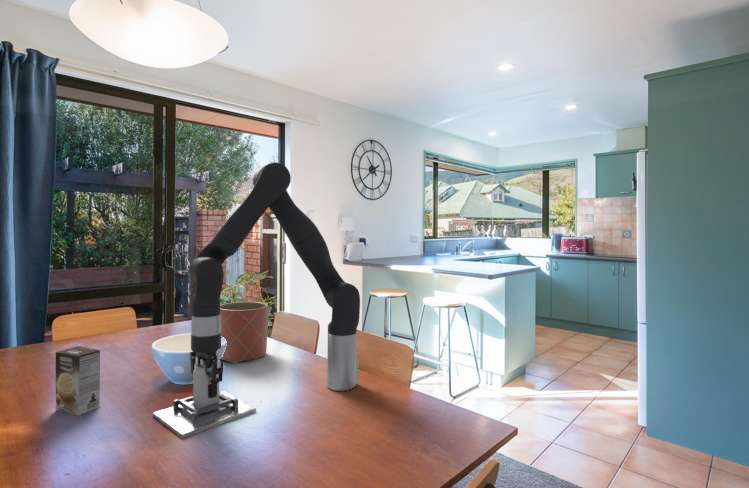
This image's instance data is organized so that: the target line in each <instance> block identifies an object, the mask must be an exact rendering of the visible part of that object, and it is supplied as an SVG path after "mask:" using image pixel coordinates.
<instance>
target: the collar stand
mask: <svg viewBox="0 0 749 488" xmlns="http://www.w3.org/2000/svg"><path fill="white" fill-rule="evenodd" d="M214 409H215V410H214ZM211 410H214V411H211ZM208 411H211V412H208ZM205 412H208V413H205ZM256 412H257V407H256V406H254V405H252V404H250V403H248V402H246V401H244V400H242V399H241V398H239V397H237V396H234V395H233V394H231V393H228V392H227V391H225V390H223V391H221V392H220V391H219V402H218V403H215V404H212V405H209V406H206V407H203V408H200V409H197V408H196V407H194V406H193V395H191V396H187V397H185V398H182V399H178V398H176V399H172V406H170V407H168V408H165V409H160V410H157V411H154V412H153V417H154V418H155V419H156V420H158V421H159V422H160V423H161V424H163V425H164V426H165V427H167V428H168V429H169V430H170V431H172V432H173V433H174V434H175V435H177V436H178V437H180V438H181V439H184V438H188V437H190V436H193V435H195V434H198V433H200V432H201V433H202V432H203V431H207V430H209V429H211V428H214V427H218V426H220V425H223V424H225V423H228V422H230V421H234V420H236V419H239V418H240V419H241V418H242V417H245V416H248V415H250V414H254V413H256Z"/></svg>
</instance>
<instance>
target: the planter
mask: <svg viewBox="0 0 749 488" xmlns="http://www.w3.org/2000/svg"><path fill="white" fill-rule="evenodd" d="M220 317H221V336H222V337H224V338H225V339H226V341H227V346H226V349H225V352H224V354H223V357H222V359H223V361H226V362H229V363H233V364H239V363H240V362H241V361H249V360H250V361H251V360H254V359H258V358H261V357H262V358H265V357H266V355H267V347H268V346H267V345H268V327H269V304H268V303H267V302H263V301H262V302H259V301H236V302H235V301H234V302H233V301H232V302H225V303H222V304H221V303H220ZM222 337H221V338H222Z"/></svg>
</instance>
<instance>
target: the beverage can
mask: <svg viewBox="0 0 749 488" xmlns="http://www.w3.org/2000/svg"><path fill="white" fill-rule="evenodd" d="M194 366H195V369H194V371H193V374H192V375H193V376H192V380H193V381H192V385H193V386H192V389H193V390H192V391H193V395H192V396H193V406H194V407H196V408H197V409H200V408H203V407H206V406H209V405H212V404H215V403H218V402H219V392H220V382H218V383H217V396H216V397H213V398H209V397H208V381H207V376H206V375H205V371H204V369H203V367H202V365H194ZM207 370H208V372H210V371H212V367H211V368H207ZM210 376H212V374H211V375H210ZM218 377H219V374H218ZM214 410H215V409H214ZM214 410H211V411H214ZM211 411H208V412H211ZM208 412H205V413H208Z"/></svg>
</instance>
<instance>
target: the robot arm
mask: <svg viewBox="0 0 749 488" xmlns="http://www.w3.org/2000/svg"><path fill="white" fill-rule="evenodd" d="M291 176H292V175H291V173H290V171H289V169H288V167H286V165H284V164H283V163H280V162H268V163H266V164H264V165H263V166H261V167H260V168H258V169H256V171H255V172H254V173H253V177H252V184H253V187H252V189H251V191H250V193H249V194H248V195H247V196H246V198H245V199H244V200H243V202H242V203H241V204H240V205H239V206H238V207H237V208H236V209H235V210H234V211H233V213H232V214H230V216H229V217H228V218H227V219H226V220H225V222H223V224H222V225H221V226H220V228H219V229H218V231H216V234H214V236H213V238H212V239H211V240H210V241H209V243H208V244H206V245H205V246H204V247H203V248H202V249H201V251H200V252H198V254H197V255H196V256H195V257H194V258H193V259H192V261H191V263H190V265H189V268H188V269H189V270H188V271H189V272H188V273H189V275H190V277H191V278H192V279H193V280H194V281H195V294H193V296H192V299H191V321H190V350H191V351H190V352H189V355H190V356H189V359H190V373H191V374H192V375H193V371H194V369H195V365H202V367H203V369H204V371H205V375H206V376H207V381H208V397H209V398H213V397H216V396H217V383H218V382H219V383H220V382H223V377H224V376H223V375H224V374H223V373H224V360H223V359H221V358H220V359H218V355H217V351H218V349H220V348H221V317H220V305H221V294H222V291H223V284H224V268H223V264H224V263H225V261H226V260H227V259H228V258H230V257H231V256H234V255H235V253H236V252H237V251H238V250H239V248H240V247H241V246H242V244H243V243H244V241H245V240H246V239H247V237H248V235H249V234H250V232H252V230H253V228H254V227H255V226H256V225H257V223H258V221H259V220H260V219H261V217H262V216H263V215H264V213H266V212H267V210H268V209H269V210H270V211H271V212H272V214H273V215H274V217H275V218H276V220H277V221H278V223H279V226H280V228H281V229H282V230H283V232H284V234H285V236H286V237H287V239H288V240H289V242H290V244H291V245H292V247H293V249H294V250H295V252H296V253H297V255H298V256H299V258H300V259H301V261H302V263H303V264H304V265H305V267H306V268H307V269H308V271H309V272H310V273H311V275H312V276H313V278H314V279H315V281H316V283H317V285H318V287H319V290H320V291H321V293H322V296H323V298H324V299H325V301H326V304H327V305H328V306H329V307H331V310H332V311H331V321H330V322H329V323H328V324H327V352H326V353H327V354H326V355H327V357H326V358H327V359H326V361H327V363H326V366H327V367H326V376H327V377H326V378H327V379H326V384H327V385H326V387H327V389H329V388H330V390H331V391H337V392H339V391H340V392H343V391H345V390H346V391H350V390H349V389H351V390H353V389H354V387H355V388H356V386H357V385H359V354H357V340H358V339H357V337H358V336H357V332H358V326H359V324H360V315H361V313H360V311H361V309H360V308H361V295H360V291H359V290H358V288H357V287H356V286H355V285H354V284H352V283H348V282H346V281H345V280H344V279H343V278H342V276H341V275H340V274H339V272H338V271H337V270H336V268H335V266H334V263H333V262H332V257H331V254H330V250H329V248H328V245H327V243H326V241H325V239H324V237H323V235H322V234H321V232H320V229H318V227H317V225H316V224H315V223H314V221H313V220H312V219H310V218H309V217H308V216H307V215H306V214H305V212H303V211H302V210H301V209H300V208H299V207H298V206H297V205H296V204H295V202H294V201H293V199H292V198H291V196H290V194H289V192H288V190H287V189H288V188H289V187H290V185H291V180H292V179H291ZM211 367H212V371H210V372H208V370H207V368H211ZM211 374H212V376H210V375H211ZM218 374H219V377H218ZM356 384H357V385H356ZM352 388H353V389H352ZM346 391H345V392H346Z"/></svg>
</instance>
